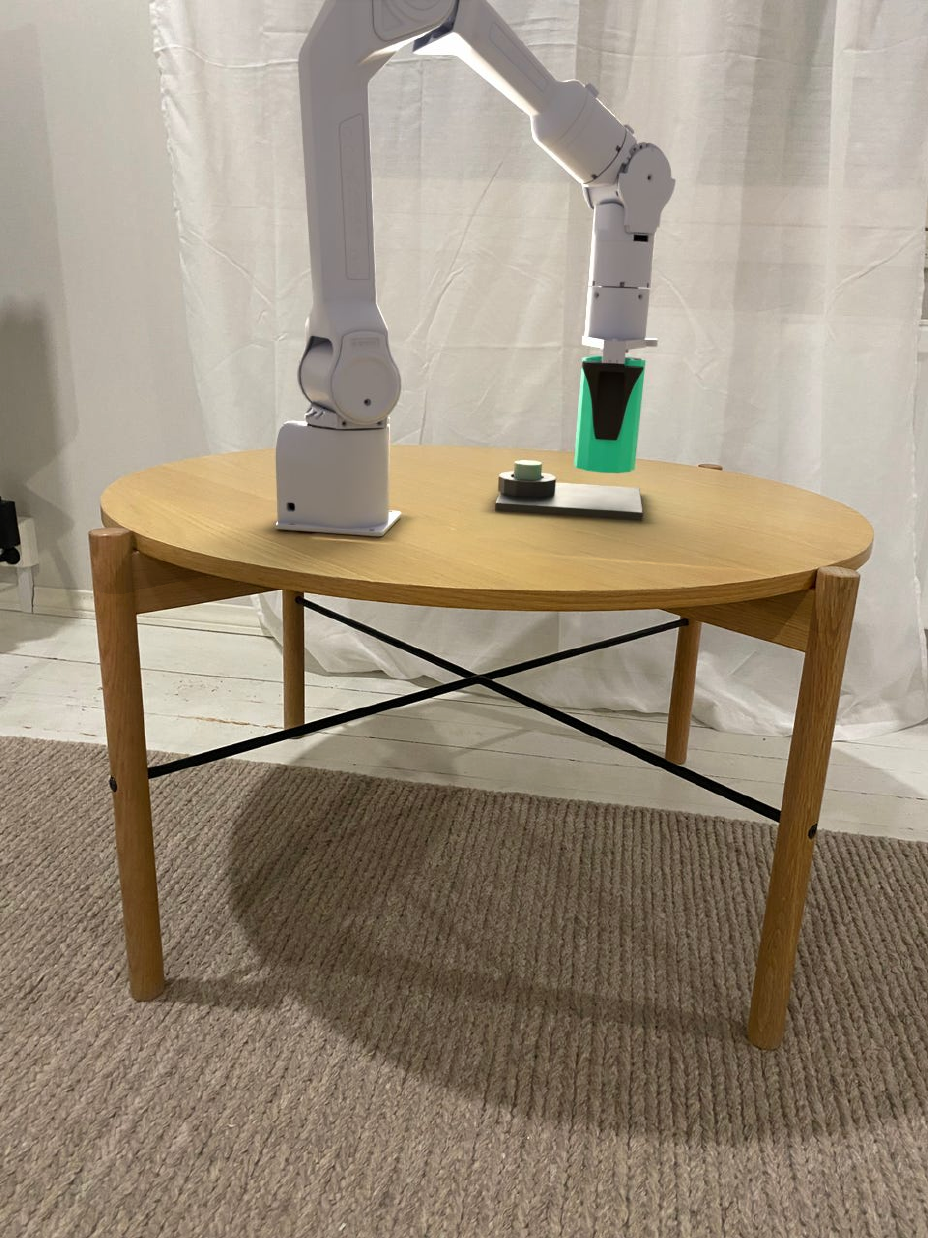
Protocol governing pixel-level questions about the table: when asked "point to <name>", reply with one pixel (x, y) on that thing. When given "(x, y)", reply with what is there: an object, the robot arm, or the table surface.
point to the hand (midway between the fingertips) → (606, 434)
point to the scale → (567, 498)
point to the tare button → (527, 469)
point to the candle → (608, 452)
